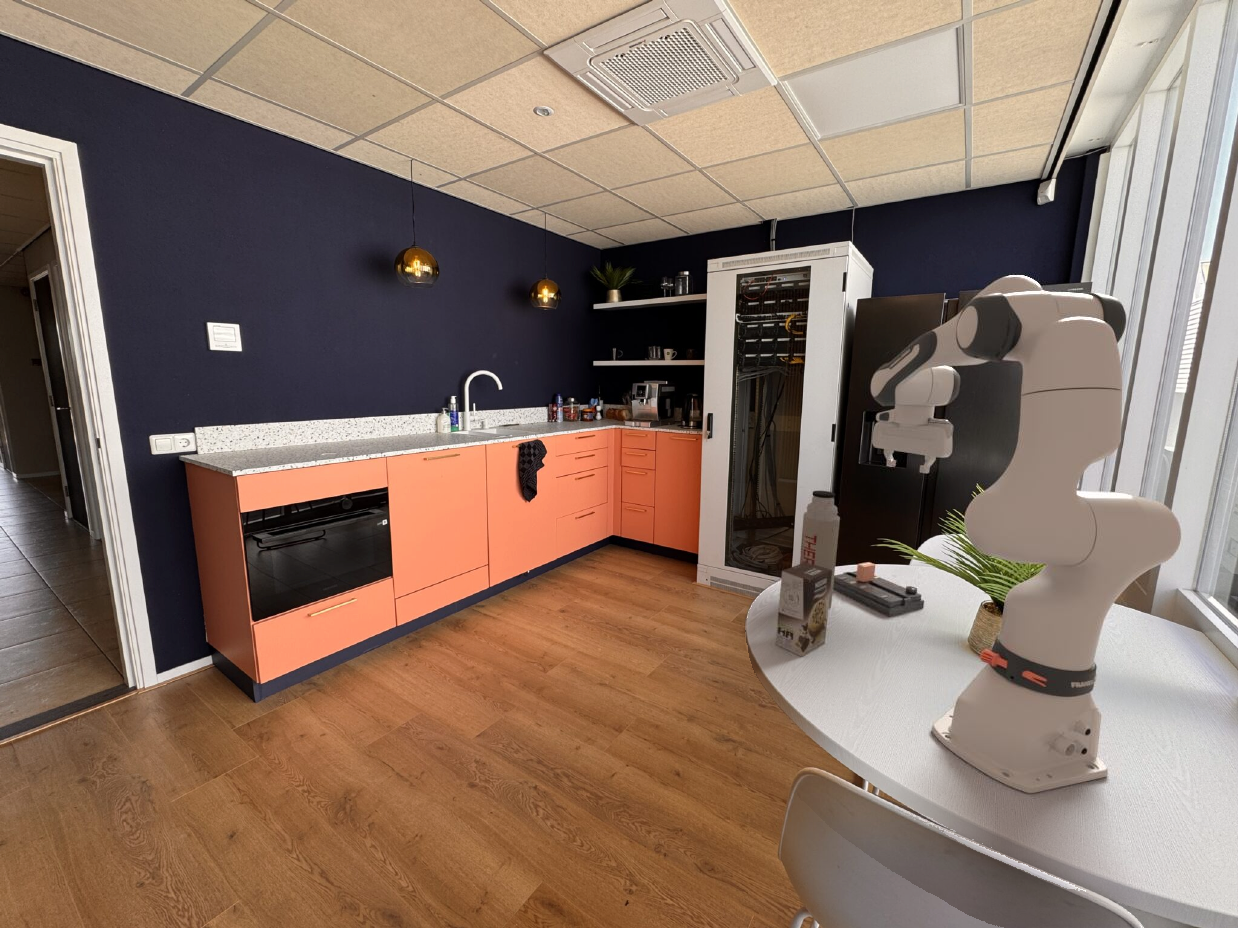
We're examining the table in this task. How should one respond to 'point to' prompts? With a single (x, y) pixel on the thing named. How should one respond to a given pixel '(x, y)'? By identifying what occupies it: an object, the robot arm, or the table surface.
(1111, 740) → the table surface
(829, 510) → the thermos bottle
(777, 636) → the coffee box
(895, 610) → the block
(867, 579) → the fader
